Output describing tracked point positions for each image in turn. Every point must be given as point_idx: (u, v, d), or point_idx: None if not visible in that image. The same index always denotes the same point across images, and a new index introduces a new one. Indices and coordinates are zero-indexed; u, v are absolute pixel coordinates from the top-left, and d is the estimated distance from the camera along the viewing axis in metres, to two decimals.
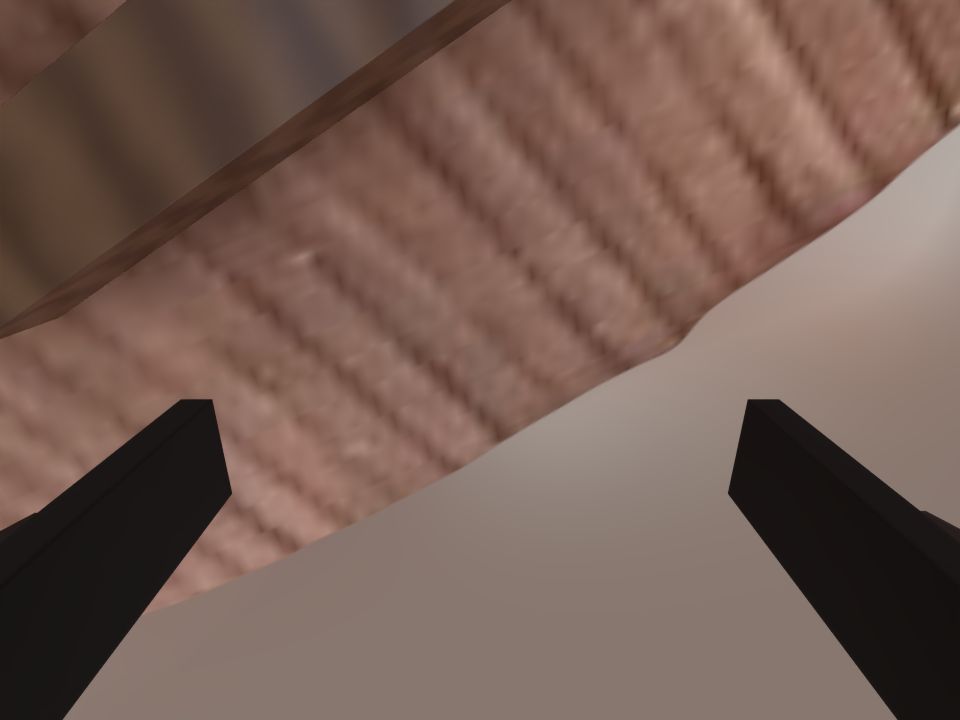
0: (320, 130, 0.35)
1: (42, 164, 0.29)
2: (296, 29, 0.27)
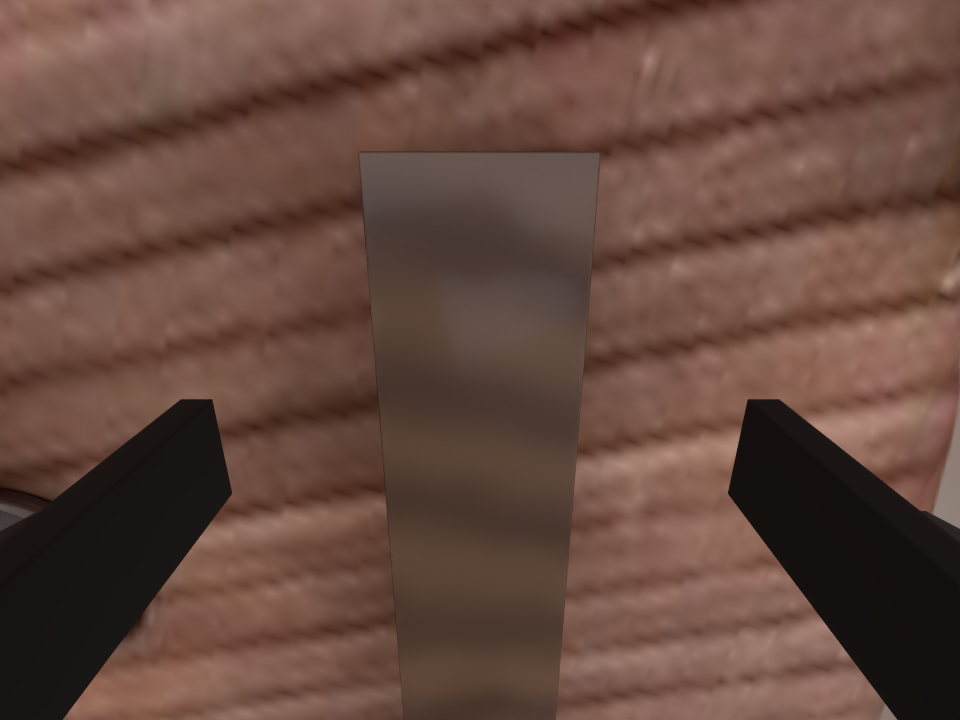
0: None
1: None
2: None
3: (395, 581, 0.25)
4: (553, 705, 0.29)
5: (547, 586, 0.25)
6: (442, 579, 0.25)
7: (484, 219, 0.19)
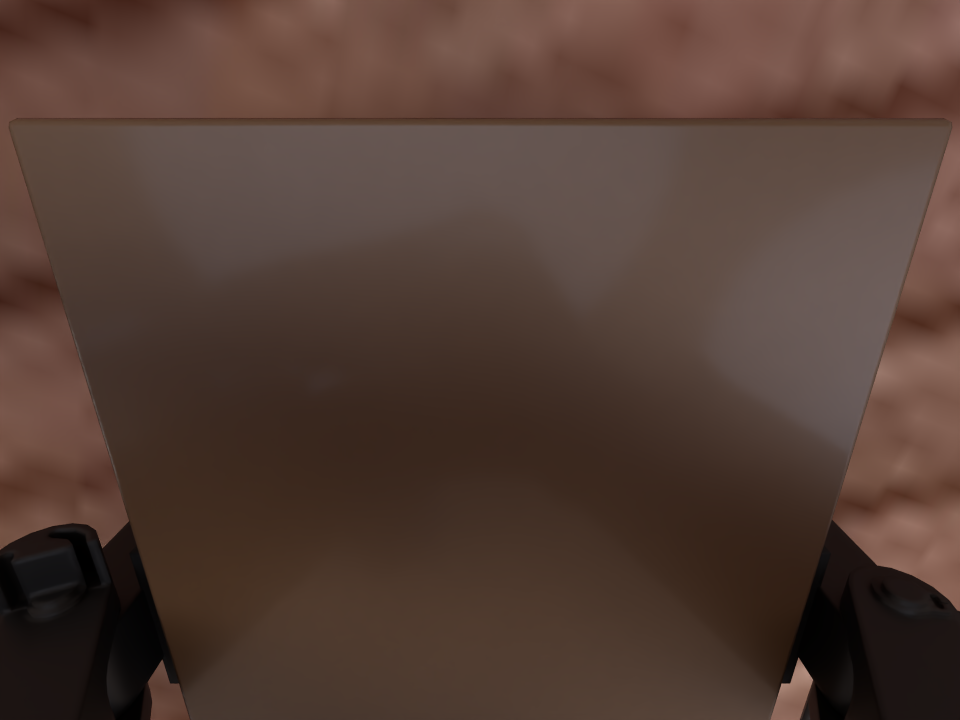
0: None
1: None
2: None
3: None
4: None
5: None
6: None
7: (495, 359, 0.05)
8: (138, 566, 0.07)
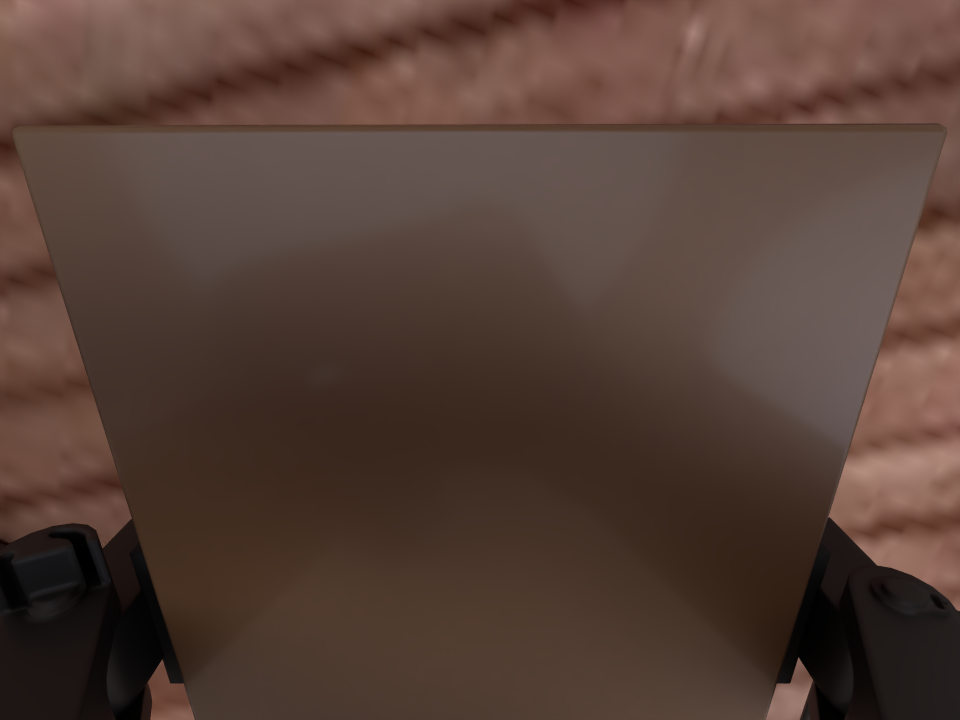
0: None
1: None
2: None
3: None
4: None
5: None
6: None
7: (494, 362, 0.06)
8: (138, 566, 0.07)
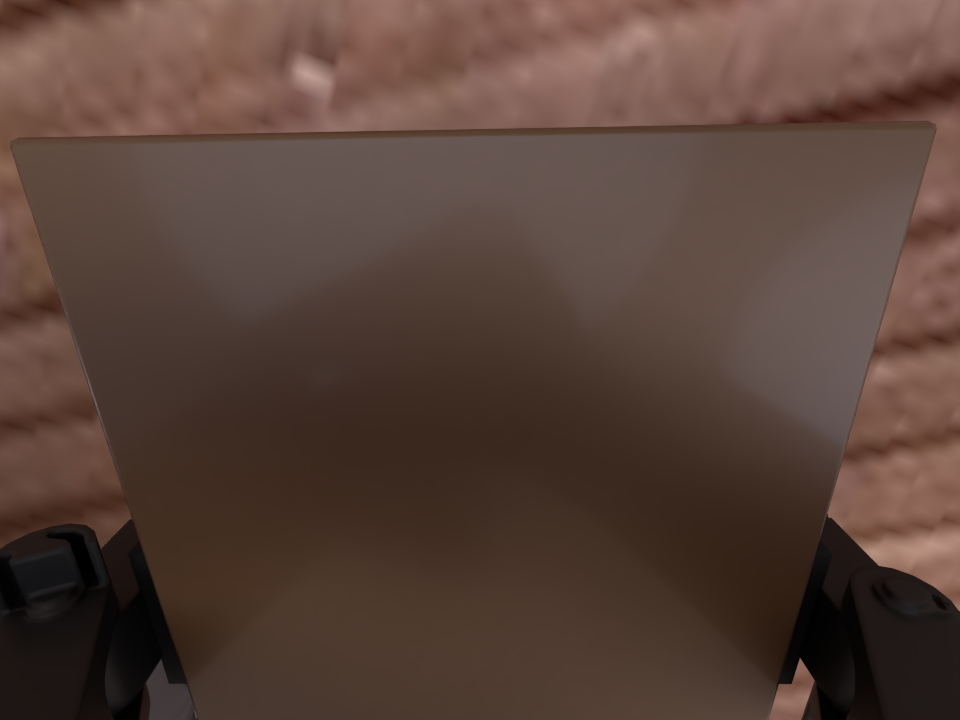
0: None
1: None
2: None
3: None
4: None
5: None
6: None
7: (490, 365, 0.06)
8: (136, 566, 0.07)
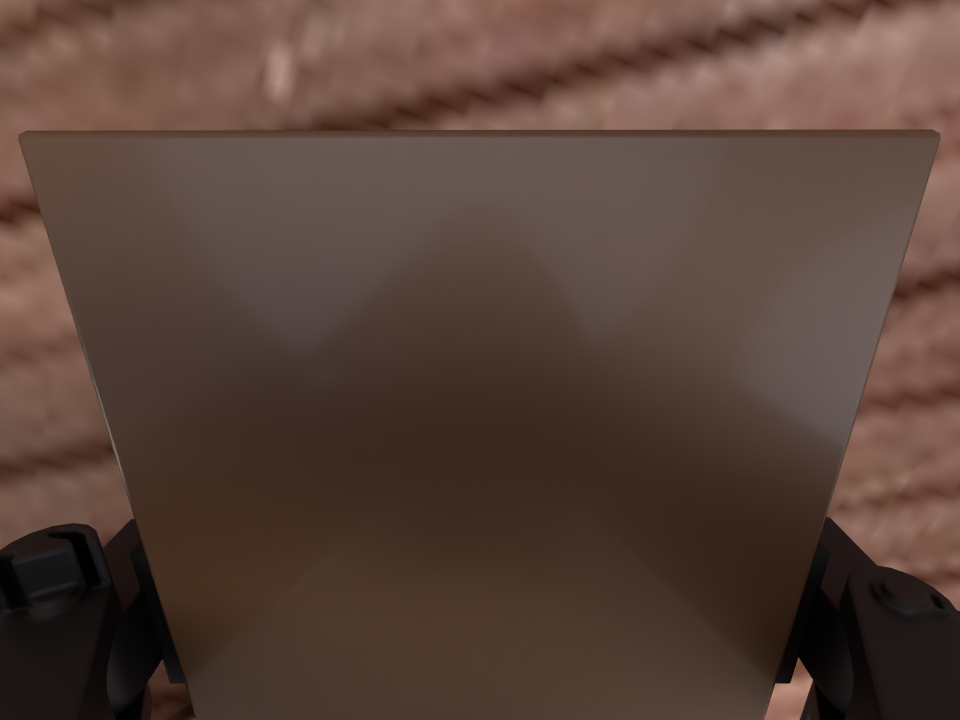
0: None
1: None
2: None
3: None
4: None
5: None
6: None
7: (495, 364, 0.06)
8: (138, 566, 0.07)
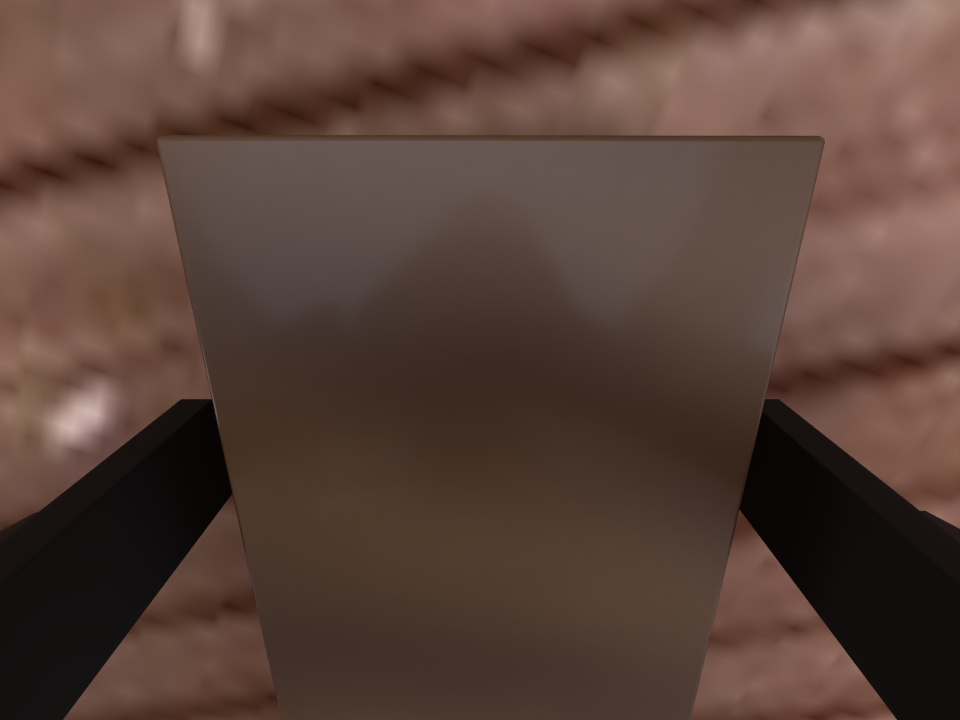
0: None
1: None
2: None
3: None
4: None
5: None
6: None
7: (499, 312, 0.07)
8: None
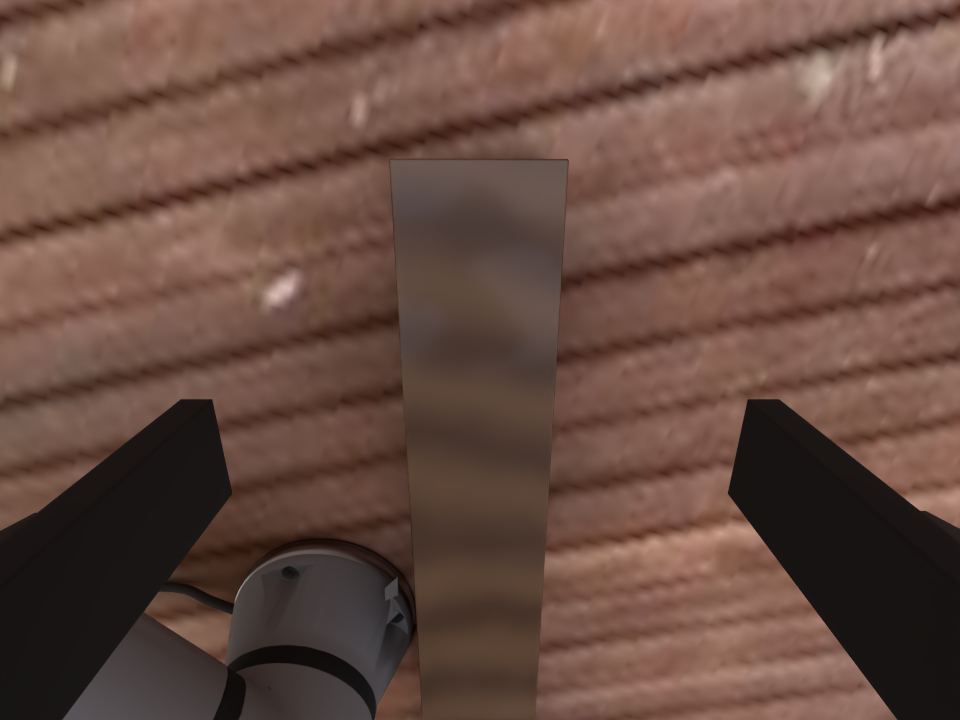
0: None
1: None
2: None
3: (411, 500, 0.32)
4: (538, 608, 0.35)
5: (533, 504, 0.32)
6: (448, 498, 0.32)
7: (482, 209, 0.25)
8: None
